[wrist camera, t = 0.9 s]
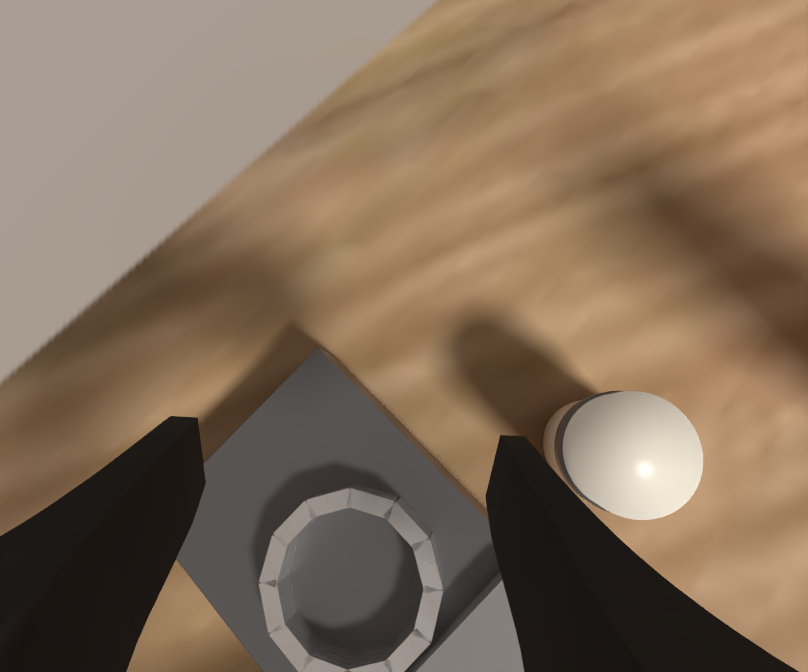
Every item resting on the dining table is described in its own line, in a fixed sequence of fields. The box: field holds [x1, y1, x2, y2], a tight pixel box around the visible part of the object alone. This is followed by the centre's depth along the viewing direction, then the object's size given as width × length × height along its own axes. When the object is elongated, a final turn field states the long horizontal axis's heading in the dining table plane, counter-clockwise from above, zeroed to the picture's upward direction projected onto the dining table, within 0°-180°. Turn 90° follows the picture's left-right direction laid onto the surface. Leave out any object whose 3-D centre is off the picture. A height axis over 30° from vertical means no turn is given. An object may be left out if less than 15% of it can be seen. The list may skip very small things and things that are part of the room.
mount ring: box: [259, 484, 445, 672], centre depth 21 cm, size 8×8×2 cm
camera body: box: [176, 348, 524, 672], centre depth 23 cm, size 18×12×4 cm, turn 46°
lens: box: [543, 391, 703, 520], centre depth 21 cm, size 5×5×7 cm
